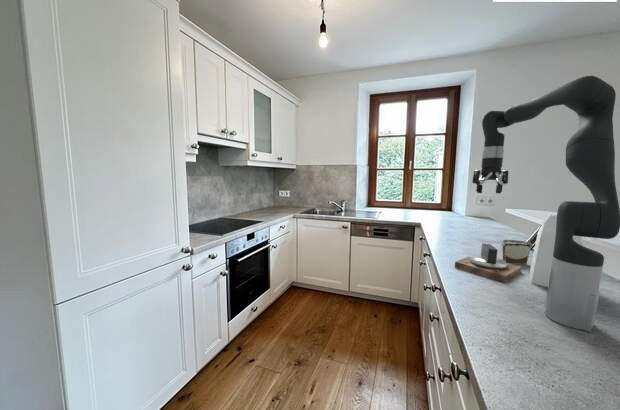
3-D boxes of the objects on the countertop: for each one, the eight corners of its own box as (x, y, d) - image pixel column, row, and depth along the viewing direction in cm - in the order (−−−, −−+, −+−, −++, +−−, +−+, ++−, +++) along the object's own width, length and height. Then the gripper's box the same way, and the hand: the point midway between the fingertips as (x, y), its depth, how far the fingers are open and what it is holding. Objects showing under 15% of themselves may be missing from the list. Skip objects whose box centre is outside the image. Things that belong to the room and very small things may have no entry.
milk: (571, 282, 93) (581, 215, 89) (577, 293, 84) (589, 219, 81) (529, 274, 100) (537, 212, 97) (531, 283, 91) (540, 215, 88)
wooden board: (520, 272, 102) (521, 265, 101) (504, 282, 92) (505, 275, 91) (472, 259, 117) (473, 254, 116) (454, 267, 106) (455, 261, 106)
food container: (520, 260, 117) (522, 239, 116) (530, 264, 111) (533, 243, 110) (492, 258, 118) (495, 238, 117) (501, 263, 112) (503, 242, 111)
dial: (466, 256, 112) (467, 241, 111) (500, 260, 108) (502, 244, 107) (473, 266, 100) (475, 248, 99) (512, 271, 95) (514, 252, 95)
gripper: (502, 158, 112) (498, 192, 114) (471, 157, 113) (467, 192, 115) (515, 156, 105) (511, 194, 107) (482, 156, 105) (478, 193, 107)
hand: (488, 193), depth 111 cm, fingers open, 8 cm apart
